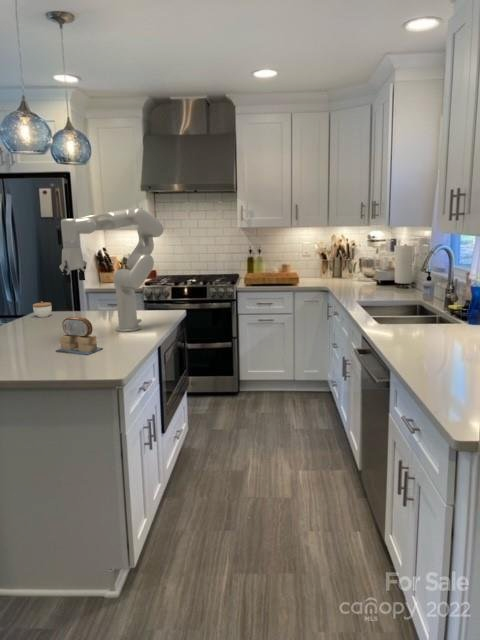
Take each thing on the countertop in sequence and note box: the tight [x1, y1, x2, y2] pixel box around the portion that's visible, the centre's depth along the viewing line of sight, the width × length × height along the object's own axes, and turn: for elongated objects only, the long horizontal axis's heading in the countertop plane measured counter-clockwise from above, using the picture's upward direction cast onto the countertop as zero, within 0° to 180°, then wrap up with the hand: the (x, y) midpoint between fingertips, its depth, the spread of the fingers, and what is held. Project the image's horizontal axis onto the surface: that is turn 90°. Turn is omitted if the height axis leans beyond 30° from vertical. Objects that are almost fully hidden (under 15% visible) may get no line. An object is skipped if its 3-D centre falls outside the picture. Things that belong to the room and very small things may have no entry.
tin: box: [62, 316, 93, 337], centre depth 219 cm, size 15×3×8 cm, turn 66°
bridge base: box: [55, 333, 104, 356], centre depth 221 cm, size 10×18×7 cm, turn 66°
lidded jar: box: [32, 300, 53, 318], centre depth 301 cm, size 11×11×9 cm
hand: (75, 281), depth 236 cm, fingers open, 9 cm apart
